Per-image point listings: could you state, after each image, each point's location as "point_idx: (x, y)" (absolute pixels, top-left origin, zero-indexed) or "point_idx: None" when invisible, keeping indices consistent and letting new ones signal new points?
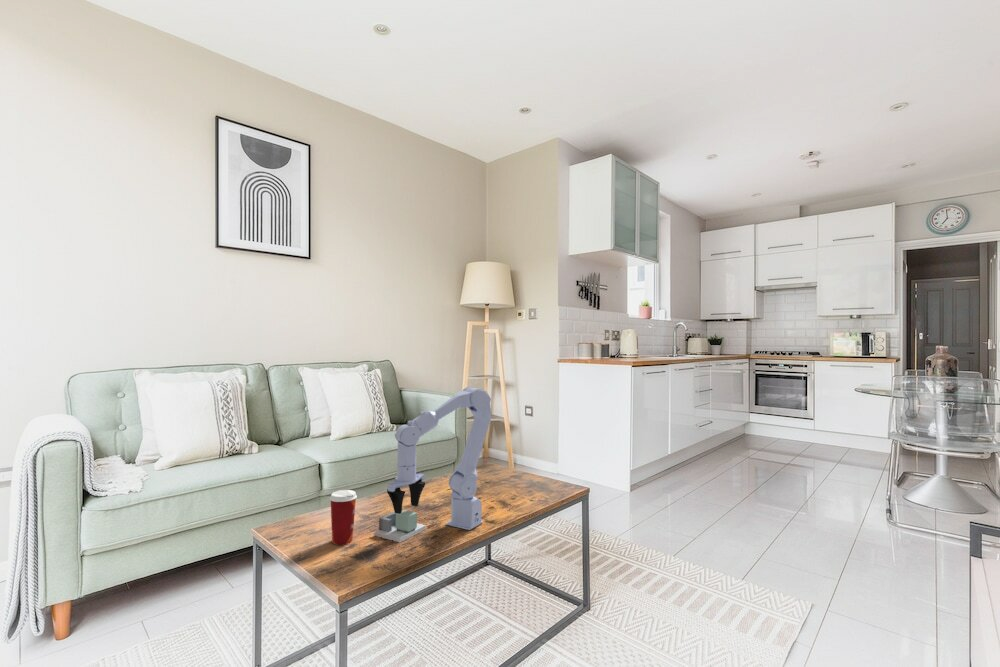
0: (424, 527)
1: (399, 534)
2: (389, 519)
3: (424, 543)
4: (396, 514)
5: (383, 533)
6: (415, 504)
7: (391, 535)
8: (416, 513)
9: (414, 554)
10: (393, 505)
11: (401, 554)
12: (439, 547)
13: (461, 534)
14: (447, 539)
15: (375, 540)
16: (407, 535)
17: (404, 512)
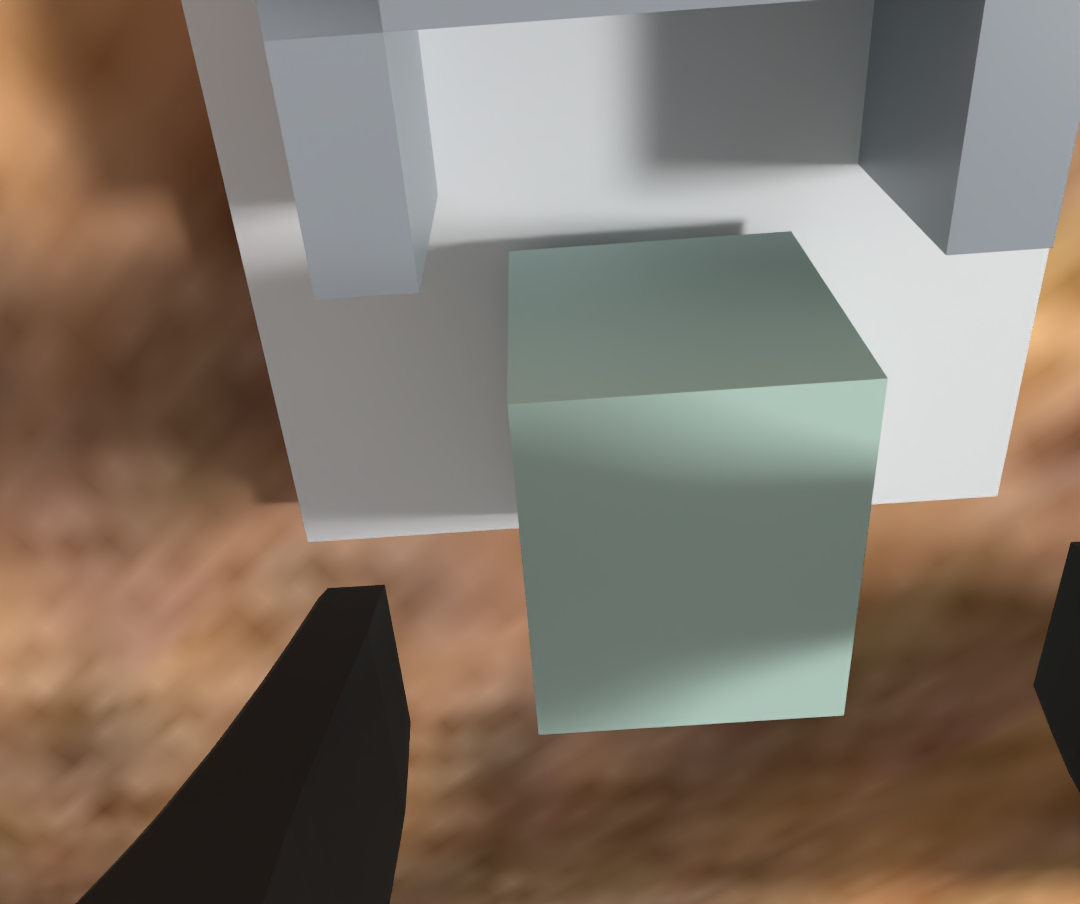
0: (948, 485)
1: (414, 431)
2: (369, 257)
3: (522, 733)
4: (510, 419)
5: (239, 156)
6: (1063, 696)
7: (287, 356)
8: (822, 710)
9: None
10: (234, 743)
11: (99, 737)
12: (539, 886)
13: (993, 857)
14: (778, 834)
15: (65, 112)
16: (498, 519)
17: (721, 503)
